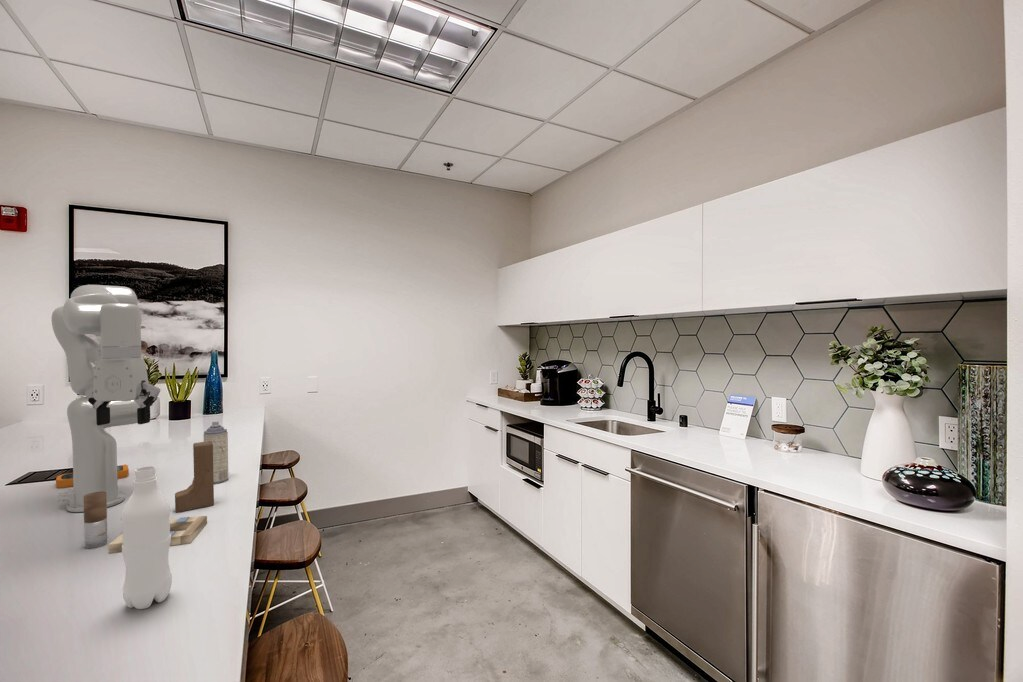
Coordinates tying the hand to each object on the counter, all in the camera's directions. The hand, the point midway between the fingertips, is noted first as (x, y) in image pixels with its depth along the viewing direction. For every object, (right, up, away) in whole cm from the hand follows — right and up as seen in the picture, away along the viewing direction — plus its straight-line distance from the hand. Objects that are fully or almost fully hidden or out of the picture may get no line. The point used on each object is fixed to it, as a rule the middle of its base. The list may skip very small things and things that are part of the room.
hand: (123, 423), depth 113 cm
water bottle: (+27, -29, -27) cm, 48 cm away
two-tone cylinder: (-3, -28, -4) cm, 28 cm away
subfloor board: (+9, -28, 0) cm, 29 cm away
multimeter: (-46, -27, +43) cm, 69 cm away
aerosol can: (-4, -27, +42) cm, 50 cm away
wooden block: (+4, -28, +19) cm, 34 cm away
